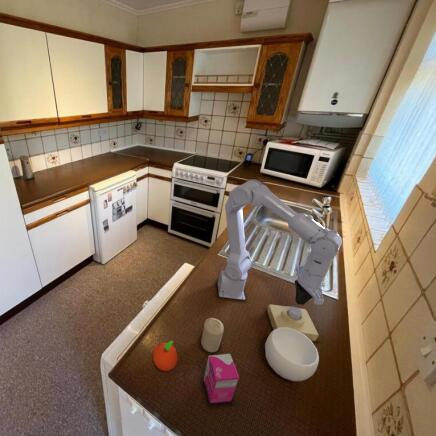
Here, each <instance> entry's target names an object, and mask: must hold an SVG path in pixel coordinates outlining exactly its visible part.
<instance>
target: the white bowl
mask: <svg viewBox="0 0 436 436" xmlns="http://www.w3.org/2000/svg"><path fill="white" fill-rule="evenodd" d="M264 349H265V350H264V351H265V358H266V361H267V363H268V365H269V366H270V368H271V369H272V370H273V371H274V372H275V373H276V374H277V375H278V376H280V377H281V378H283V379H285V380H289V381H291V382H303V381H305V380H308V379H309V378H310V377H312V376H314V374H315V373H316V371H317V369H318V365H319V362H320V355H319V352H318V348H317V347H316V345H315V344H314V342H313V341H312V340H310V339H309V338H308V337H306V336H305V335H304V334H302V333H301V332H299V331H297V330H295V329H292V328H288V327H279V328H277V329H275V330H272V331H271V332H270V333H269V334H268V337H267V339H266V342H265V344H264Z"/></svg>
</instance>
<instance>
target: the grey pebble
mask: <svg viewBox="0 0 436 436" xmlns="http://www.w3.org/2000/svg"><path fill="white" fill-rule="evenodd" d="M298 308H299V307H296V306H290V309H289V311H288V315H289V316H290V317H291V318H293V319H295V320H299V319H300V317H301V315H302V312H301V310H300V309H301V308H300V309H298Z"/></svg>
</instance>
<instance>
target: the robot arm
mask: <svg viewBox="0 0 436 436" xmlns="http://www.w3.org/2000/svg"><path fill="white" fill-rule="evenodd" d="M250 203H251V204H250ZM248 205H250V206H251V207H264V208H266V209H268V210H269V211H271V212H272V213H273V214H275V215H276V216H278V217H279V218H281V219H282V220H284V221H285V222H287V226H288V229H289V231H292V232H293V233H294V234H295V235H296V236H298V237H300V239H302V240H303V241H304V242H306V243H307V244H309V245H310V251H309V253H308V254H307V256H306V259H305V261H304V263H303V265H300V264H297V265H296V267H295V269H294V271H295V272H296V273H297V275H296V277H297V278H296V279H295V280H294V286H295V303H296V304H297V305H302V306H304V305H305V304H306V303H308V302H309V301H310V300H311V299H313V301H312V302H313V304H314V305H319V306H323V304H324V303H325V299H324V298H325V297H324V296H323V288H324V287H325V286H326V283H325V282H324V280H325V278H326V276H327V274H328V272H329V270H330V268H331V266H332V265H333V262H334V261H333V260H334V259H335V257H336V256H337V255H338V254H339V250H340V248H341V246H342V244H343V239H342V236H341V235H340V234H339V233H338V232H337V231H336V230H333V229H329V228H328V227H324V226H322V225H321V224H320V223H319V222H317V221H316V220H314V216H312V215H311V214H308V215H307V214H306V213H304V212H303V213H301V212H299V213H298V212H296V211H295V210H293V209H292V208H291V207H290V206H289V205H288V204H287V203H285V202H284V201H283V200H281V199H280V198H279V197H278V196H276V194H274V193H273V192H272V191H271V190H270V189H269V187H268V186H267V185H265V184H262V182H261V181H259V180H258V179H255V178H254V179H249V180H247V181H245V182H244V183H242V184H240V185H238V186H236V187H234V188H233V189H232V190H230V192H228V198H227V200H226V201H225V204H224V210H225V219H226V220H225V221H226V229H227V237H228V247H229V253H228V256H227V258H226V266H225V268H224V270H220V272H219V276H218V280H217V289H218V290H217V291H218V297H220V298H228V299H233V300H239V301H240V300H241V301H246V296H245V292H244V289H245V286H246V282H247V279H248V271H249V270H250V269H251V268H252V267H253V264H254V263H253V259H252V258H251V255H250V252H249V251H248V250H247V247H246V236H245V225H244V224H245V223H244V214H243V209H244V208H245V207H246V206H248Z"/></svg>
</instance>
